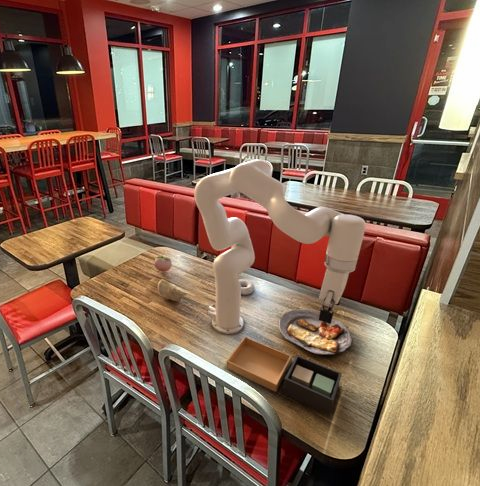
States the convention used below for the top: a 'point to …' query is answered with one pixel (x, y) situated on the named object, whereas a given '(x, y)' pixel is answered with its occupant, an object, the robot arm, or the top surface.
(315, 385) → the sage cube
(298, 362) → the black basket
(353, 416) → the top surface
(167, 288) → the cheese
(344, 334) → the food plate
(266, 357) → the brown wooden tray
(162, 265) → the decorative fruit
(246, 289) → the donut
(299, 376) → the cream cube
